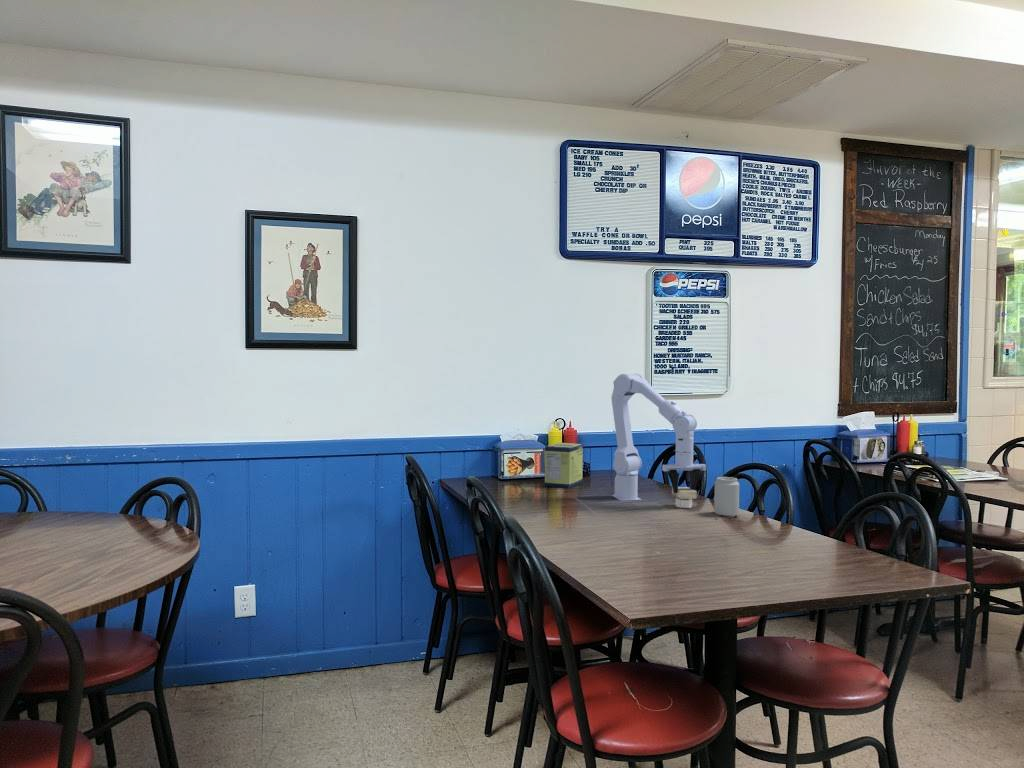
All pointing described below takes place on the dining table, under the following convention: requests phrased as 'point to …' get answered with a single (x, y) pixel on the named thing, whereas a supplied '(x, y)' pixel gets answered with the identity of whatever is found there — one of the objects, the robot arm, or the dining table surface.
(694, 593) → the dining table surface
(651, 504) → the mat
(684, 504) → the bowl
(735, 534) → the dining table surface
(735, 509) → the can
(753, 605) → the dining table surface
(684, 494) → the block
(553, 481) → the protein box
